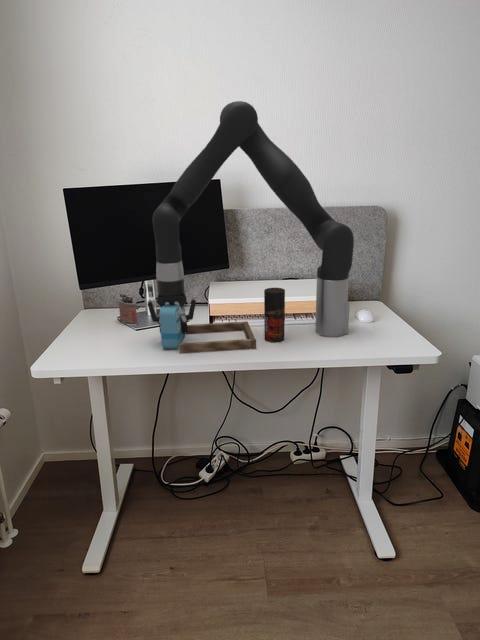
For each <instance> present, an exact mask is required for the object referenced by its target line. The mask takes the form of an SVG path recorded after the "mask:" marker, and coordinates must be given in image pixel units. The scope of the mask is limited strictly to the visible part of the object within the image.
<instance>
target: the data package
mask: <svg viewBox="0 0 480 640" xmlns="http://www.w3.org/2000/svg"><path fill="white" fill-rule="evenodd" d="M182 308H183V310H184V313H185V314H186V311H185V309H186V307H185V305H184V306H183V307H182ZM180 312H181V311H180ZM159 317H160V327H159V329H160V328H161V333H160V338H161V339H160V341H161V343H160V344H161V348H162V349H166V350H168V349H173V350H178V349H180V348H179V343H184V340H185V338H186V335H187V334H186V332H185V334H183V329H182V318H181V316H180V315H179V306H178V305H169V306H164V305H163V306H162V307H160V308H159Z"/></svg>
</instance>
